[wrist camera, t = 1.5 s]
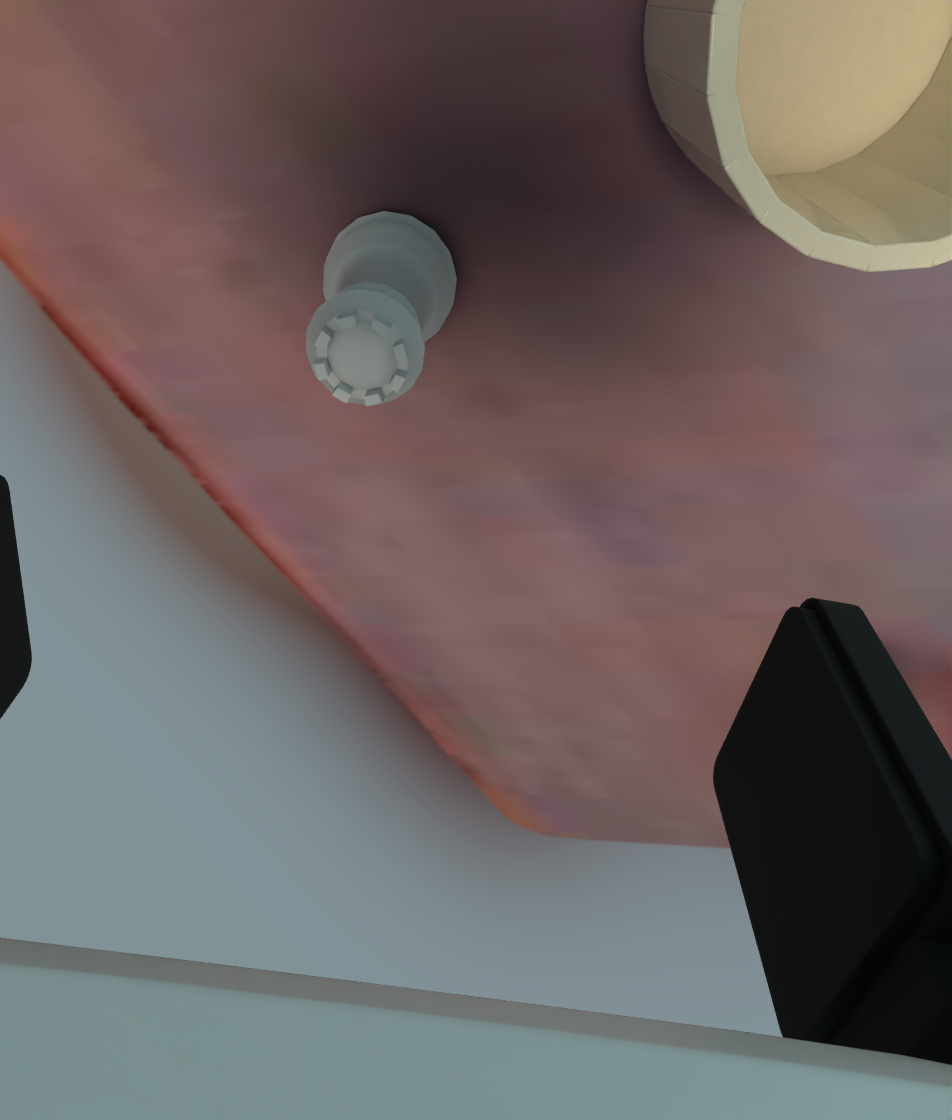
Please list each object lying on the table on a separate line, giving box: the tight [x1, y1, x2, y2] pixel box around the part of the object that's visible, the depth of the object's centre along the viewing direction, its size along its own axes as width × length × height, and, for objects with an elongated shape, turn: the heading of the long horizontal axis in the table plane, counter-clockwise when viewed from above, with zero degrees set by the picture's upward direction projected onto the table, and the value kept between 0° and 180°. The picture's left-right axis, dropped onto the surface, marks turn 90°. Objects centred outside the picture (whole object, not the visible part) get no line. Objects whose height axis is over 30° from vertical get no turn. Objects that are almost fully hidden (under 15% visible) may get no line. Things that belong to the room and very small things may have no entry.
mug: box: [643, 0, 952, 272], centre depth 21 cm, size 12×9×10 cm
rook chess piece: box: [306, 211, 457, 407], centre depth 26 cm, size 4×4×8 cm
